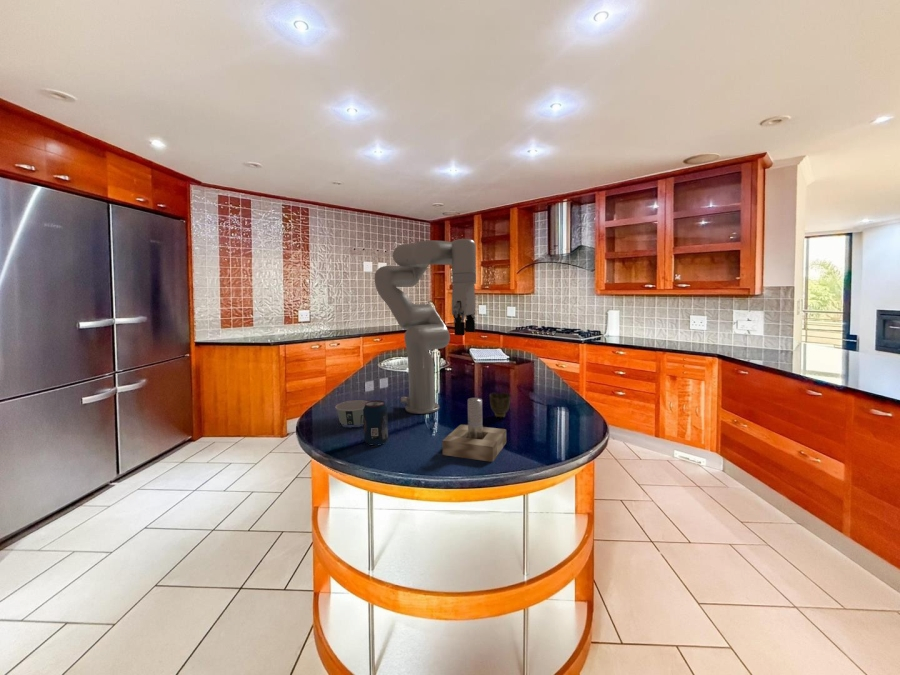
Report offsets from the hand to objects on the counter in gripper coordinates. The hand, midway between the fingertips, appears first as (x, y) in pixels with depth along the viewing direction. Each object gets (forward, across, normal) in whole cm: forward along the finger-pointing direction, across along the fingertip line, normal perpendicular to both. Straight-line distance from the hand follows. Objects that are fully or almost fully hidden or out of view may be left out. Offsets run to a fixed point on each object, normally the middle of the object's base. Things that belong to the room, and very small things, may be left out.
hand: (465, 333), depth 130 cm
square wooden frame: (+30, +18, +9) cm, 36 cm away
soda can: (+31, +23, -20) cm, 43 cm away
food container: (+31, +10, -37) cm, 49 cm away
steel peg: (+30, +18, +9) cm, 36 cm away
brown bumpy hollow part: (+31, -12, +8) cm, 34 cm away
